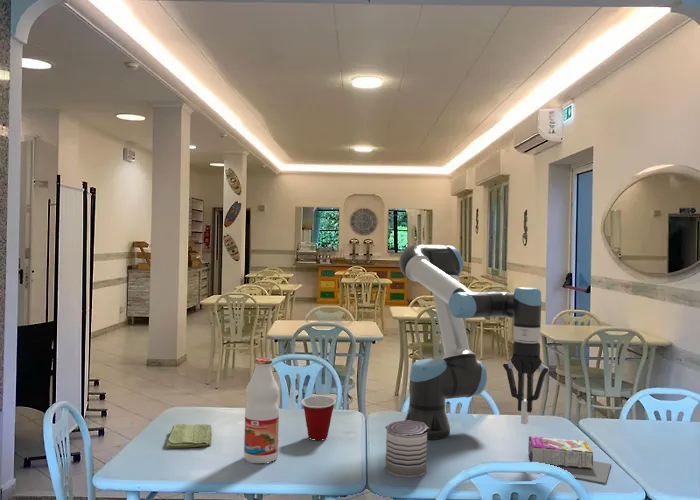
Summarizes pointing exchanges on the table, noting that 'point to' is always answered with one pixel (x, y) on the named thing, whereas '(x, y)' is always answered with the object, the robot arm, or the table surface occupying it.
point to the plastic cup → (318, 415)
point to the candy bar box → (560, 452)
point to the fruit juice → (261, 415)
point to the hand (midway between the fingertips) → (524, 422)
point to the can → (406, 448)
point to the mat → (591, 472)
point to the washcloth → (189, 436)
